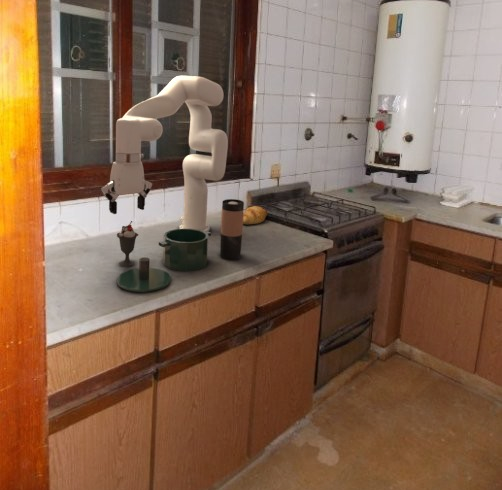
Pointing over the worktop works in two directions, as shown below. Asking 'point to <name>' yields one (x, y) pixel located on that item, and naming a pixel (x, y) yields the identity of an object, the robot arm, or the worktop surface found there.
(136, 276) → the lid
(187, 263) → the pot
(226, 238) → the travel mug
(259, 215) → the bread loaf
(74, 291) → the worktop surface
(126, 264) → the sundae
